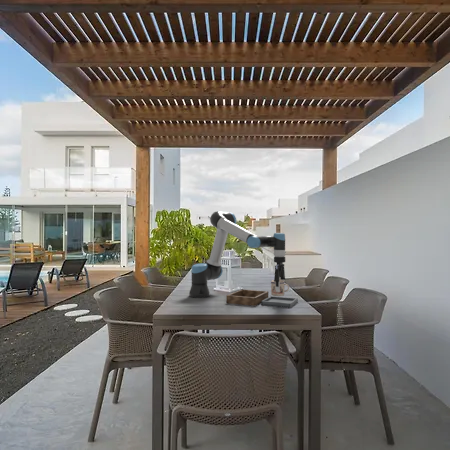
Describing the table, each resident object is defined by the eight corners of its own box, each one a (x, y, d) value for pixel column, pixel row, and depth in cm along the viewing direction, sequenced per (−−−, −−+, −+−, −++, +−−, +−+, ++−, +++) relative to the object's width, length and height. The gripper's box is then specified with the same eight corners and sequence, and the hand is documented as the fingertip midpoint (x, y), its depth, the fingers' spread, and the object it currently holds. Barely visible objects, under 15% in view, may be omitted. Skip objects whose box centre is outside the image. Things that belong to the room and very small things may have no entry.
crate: (226, 303, 228) (226, 295, 228) (241, 296, 252) (241, 289, 252) (255, 305, 219) (255, 297, 219) (268, 298, 243) (268, 291, 243)
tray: (261, 305, 221) (261, 301, 221) (270, 299, 238) (270, 296, 238) (290, 307, 213) (290, 303, 213) (297, 302, 230) (297, 298, 230)
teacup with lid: (270, 296, 223) (270, 278, 223) (271, 293, 232) (271, 276, 232) (289, 296, 220) (289, 278, 221) (289, 294, 229) (289, 276, 230)
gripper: (280, 257, 215) (280, 293, 214) (289, 255, 234) (289, 288, 234) (268, 257, 218) (269, 292, 218) (278, 255, 238) (279, 287, 237)
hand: (279, 290), depth 226 cm, fingers closed on teacup with lid, 9 cm apart
